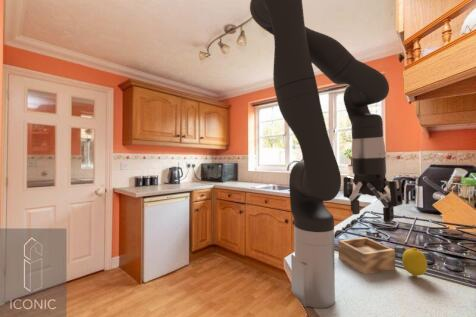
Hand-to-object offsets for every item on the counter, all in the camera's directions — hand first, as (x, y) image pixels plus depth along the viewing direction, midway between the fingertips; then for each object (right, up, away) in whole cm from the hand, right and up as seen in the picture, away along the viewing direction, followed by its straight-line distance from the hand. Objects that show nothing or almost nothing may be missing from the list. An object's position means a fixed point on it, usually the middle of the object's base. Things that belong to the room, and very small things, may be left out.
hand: (371, 217), depth 59 cm
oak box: (+6, -18, +13) cm, 23 cm away
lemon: (+15, -18, +4) cm, 23 cm away
